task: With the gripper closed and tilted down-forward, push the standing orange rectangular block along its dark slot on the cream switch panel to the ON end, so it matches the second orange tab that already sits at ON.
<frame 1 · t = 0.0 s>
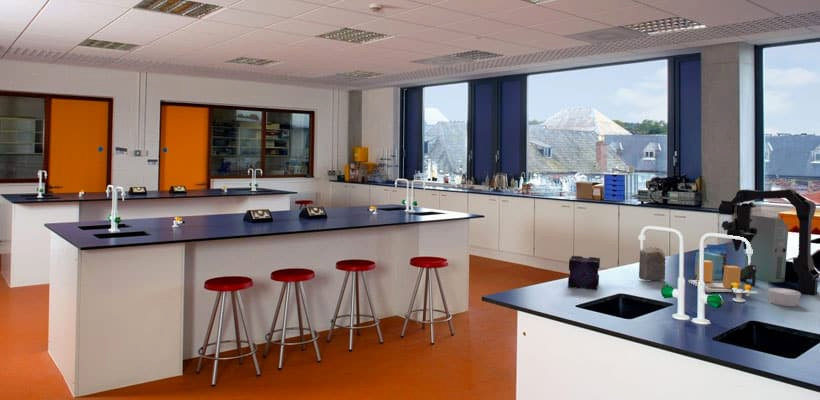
hand: (740, 249, 287), 15 cm above the counter, tool pointing down, fingers open, 9 cm apart
orange rectangular block 1: (731, 277, 266), point 6 cm above the counter, slide at 0.0 cm
device: (763, 279, 296), on the counter
gun: (746, 283, 286), on the counter
data package: (707, 278, 293), on the counter
dip bank: (717, 287, 273), on the counter
ramekin: (783, 304, 247), on the counter
geological specimen: (651, 280, 286), on the counter
label tape box: (715, 269, 318), on the counter
energy cube: (583, 286, 270), on the counter
tab 2: (704, 271, 278), point 6 cm above the counter, slide at 6.0 cm
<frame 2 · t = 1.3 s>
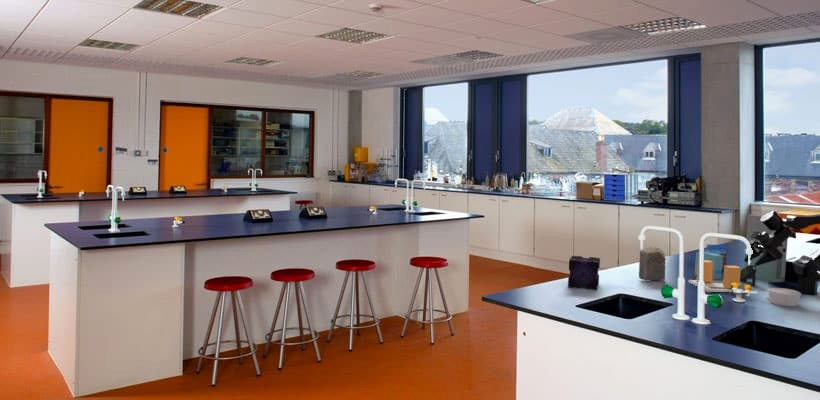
hand: (750, 263, 266), 12 cm above the counter, tool tilted 45°, fingers open, 8 cm apart
nothing on the counter moved.
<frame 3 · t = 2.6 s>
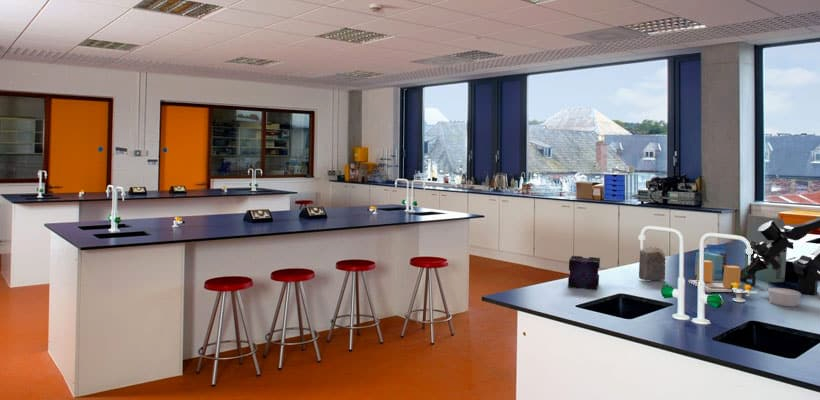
hand: (747, 272, 266), 8 cm above the counter, tool tilted 45°, fingers closed
nothing on the counter moved.
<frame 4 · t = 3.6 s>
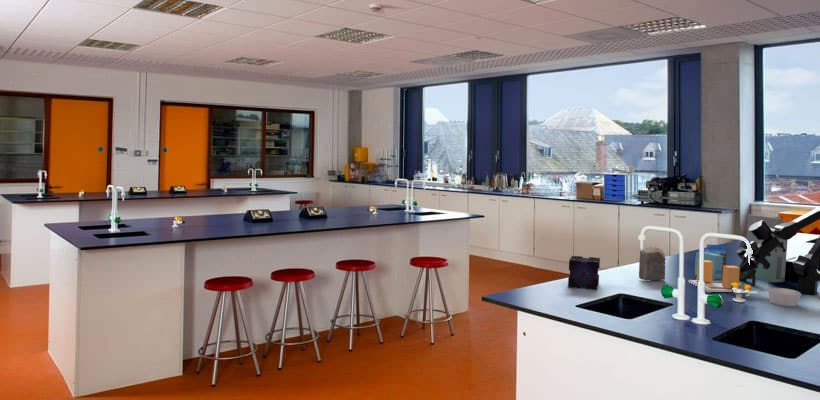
hand: (737, 272, 266), 8 cm above the counter, tool tilted 45°, fingers closed, pressing on orange rectangular block 1
orange rectangular block 1: (730, 276, 266), point 6 cm above the counter, slide at 0.4 cm, touching gripper
everything else where it was.
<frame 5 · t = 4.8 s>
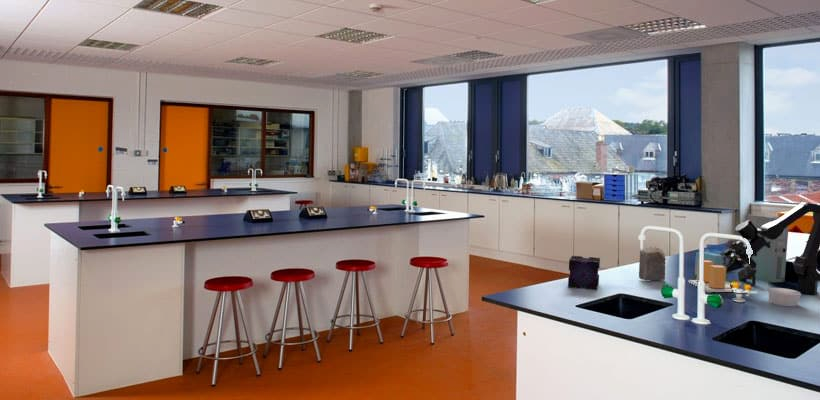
hand: (724, 272, 266), 8 cm above the counter, tool tilted 45°, fingers closed, pressing on orange rectangular block 1
orange rectangular block 1: (717, 276, 266), point 6 cm above the counter, slide at 6.1 cm, touching gripper
everything else where it was.
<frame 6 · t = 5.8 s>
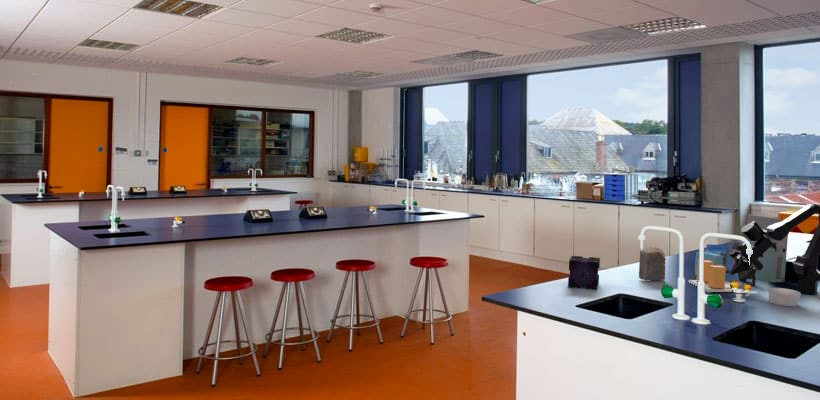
hand: (730, 273, 266), 8 cm above the counter, tool tilted 45°, fingers closed
orange rectangular block 1: (717, 276, 266), point 6 cm above the counter, slide at 6.3 cm
everything else where it was.
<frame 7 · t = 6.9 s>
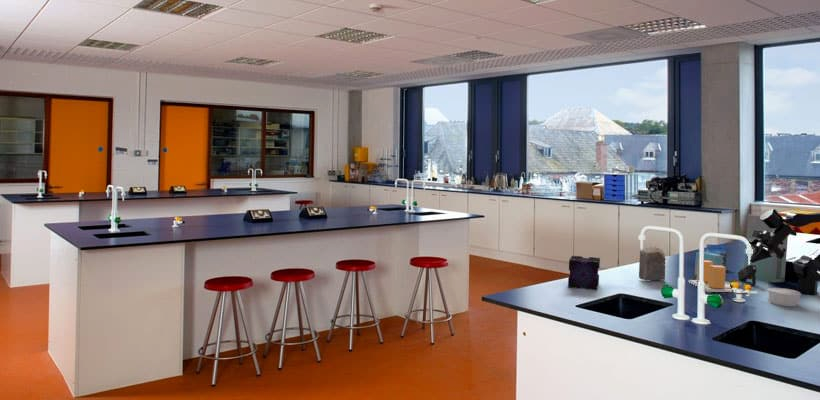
hand: (751, 261, 266), 13 cm above the counter, tool tilted 40°, fingers closed
nothing on the counter moved.
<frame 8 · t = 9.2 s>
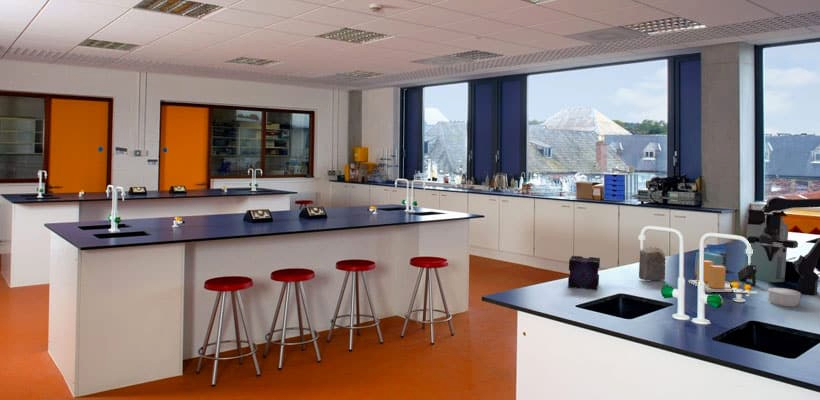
hand: (770, 261, 271), 12 cm above the counter, tool pointing down, fingers closed
nothing on the counter moved.
at the end: orange rectangular block 1 slide at 6.3 cm; tab 2 slide at 6.0 cm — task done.
